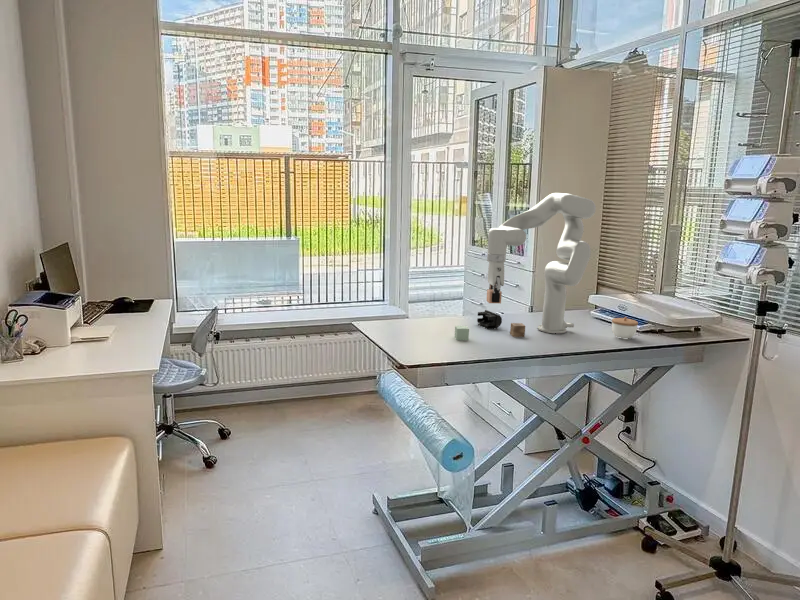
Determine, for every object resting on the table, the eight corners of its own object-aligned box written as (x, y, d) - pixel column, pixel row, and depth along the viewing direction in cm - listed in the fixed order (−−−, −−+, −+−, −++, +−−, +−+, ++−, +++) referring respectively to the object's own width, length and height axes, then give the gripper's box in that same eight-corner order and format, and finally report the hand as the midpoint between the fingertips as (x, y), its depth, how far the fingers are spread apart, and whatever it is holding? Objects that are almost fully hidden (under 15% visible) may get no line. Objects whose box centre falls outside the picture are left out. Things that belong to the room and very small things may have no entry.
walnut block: (521, 334, 261) (522, 323, 260) (524, 337, 257) (525, 326, 256) (510, 334, 261) (510, 323, 260) (513, 337, 256) (514, 325, 255)
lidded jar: (616, 340, 258) (619, 319, 256) (606, 334, 268) (608, 314, 266) (640, 341, 259) (643, 320, 257) (628, 334, 269) (631, 314, 267)
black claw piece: (501, 328, 270) (502, 314, 268) (488, 329, 267) (489, 315, 265) (489, 323, 278) (490, 309, 277) (476, 324, 275) (477, 310, 274)
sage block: (466, 337, 252) (466, 325, 251) (468, 340, 247) (469, 328, 246) (454, 337, 252) (455, 325, 251) (456, 340, 247) (457, 328, 246)
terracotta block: (498, 300, 253) (498, 289, 252) (500, 303, 248) (501, 291, 247) (486, 300, 253) (487, 289, 252) (489, 303, 248) (489, 291, 247)
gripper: (510, 261, 239) (507, 305, 243) (500, 255, 255) (497, 296, 259) (492, 260, 238) (489, 305, 242) (482, 255, 255) (480, 296, 259)
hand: (493, 300), depth 251 cm, fingers closed on terracotta block, 5 cm apart
